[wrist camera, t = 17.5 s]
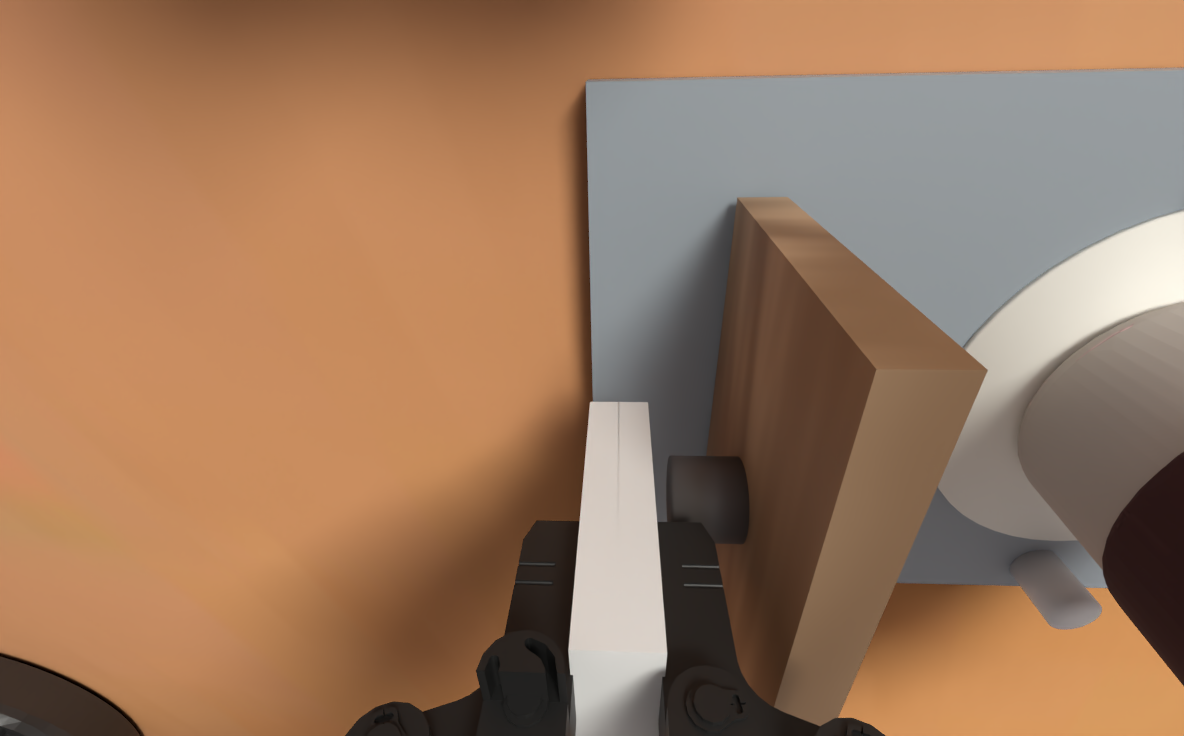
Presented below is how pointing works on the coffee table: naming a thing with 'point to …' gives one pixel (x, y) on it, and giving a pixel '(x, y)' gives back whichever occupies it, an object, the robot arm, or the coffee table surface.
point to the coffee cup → (1121, 466)
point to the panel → (816, 452)
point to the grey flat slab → (898, 255)
